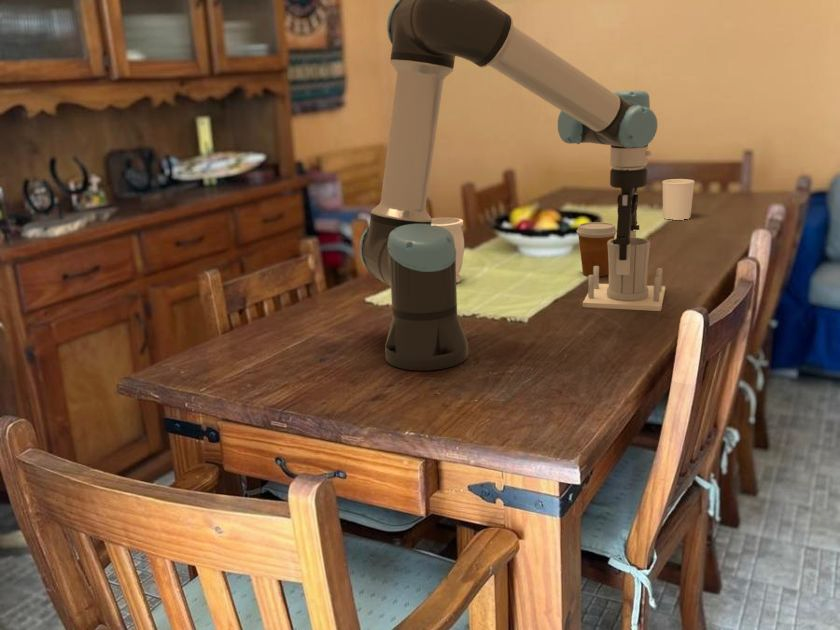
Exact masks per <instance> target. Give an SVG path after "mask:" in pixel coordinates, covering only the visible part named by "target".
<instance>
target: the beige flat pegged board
mask: <svg viewBox="0 0 840 630" xmlns="http://www.w3.org/2000/svg"><path fill="white" fill-rule="evenodd" d="M653 278H654V279H653V285H647V288H648V289H649V291H648V296H647V297H646V298H644V299H641V300H636V301H621V300H615V299H612V298H610V297H609V296H608V295H607V288H608V287H609V283H600V277H599V266H594V271H593V275H589V276H588V291H587V294H586V295H585V298H584V300H583V301H582V308H589V309H590V308H593V309H594V308H595V309H608V310H609V309H612V310H613V309H614V310H632V311H649V312H650V311H651V312H652V311H654V312H661V311H662V308H663V302H664V298H665V292H666V286H664V285H663V268H662V267H658V268H656V276H655V277H653Z"/></svg>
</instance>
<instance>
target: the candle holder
mask: <svg viewBox="0 0 840 630" xmlns="http://www.w3.org/2000/svg"><path fill="white" fill-rule="evenodd" d="M661 182H662V183H661V184H662V218H663V217H665V218H669V219H673V220H683V221H685V220H684V219H688V220H690V219H691V215H692V206H693V198H694V188H695V180H694V179H687V178H685V179H684V178H672V179H664V180H662V181H661ZM689 218H690V219H689Z"/></svg>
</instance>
